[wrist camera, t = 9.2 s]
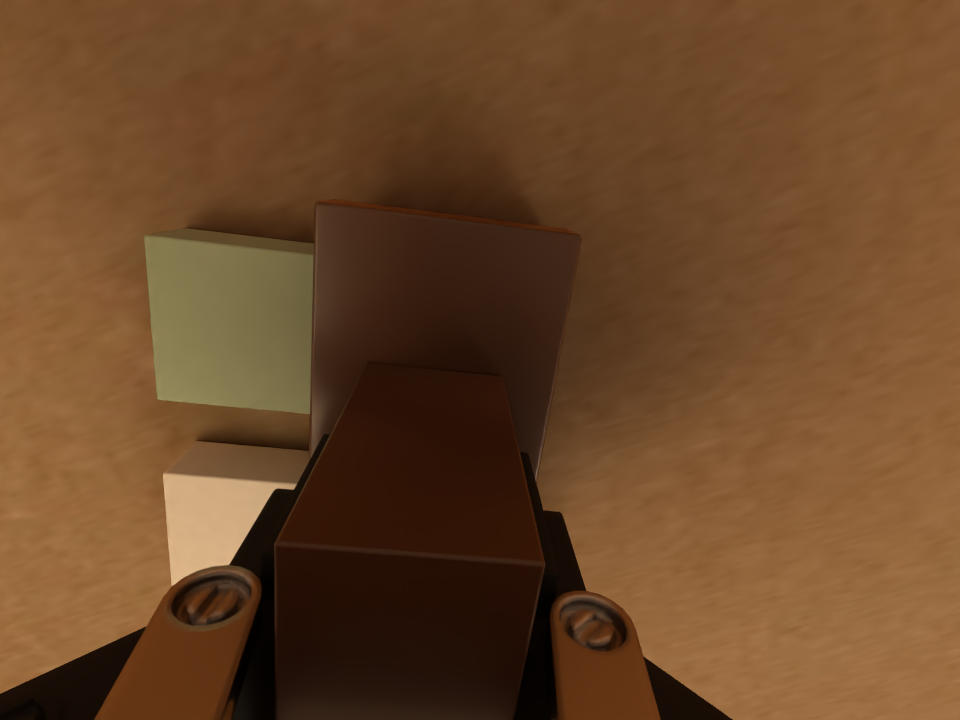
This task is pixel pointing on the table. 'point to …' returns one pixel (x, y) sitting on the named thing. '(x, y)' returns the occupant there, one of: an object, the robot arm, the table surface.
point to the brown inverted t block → (420, 465)
